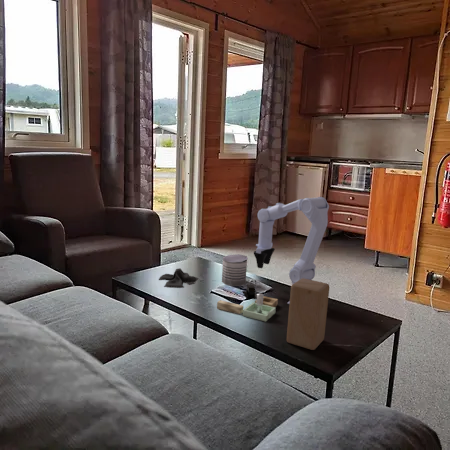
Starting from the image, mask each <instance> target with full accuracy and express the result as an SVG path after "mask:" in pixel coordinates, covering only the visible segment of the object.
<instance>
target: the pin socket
mask: <svg viewBox="0 0 450 450" xmlns="http://www.w3.org/2000/svg"><path fill="white" fill-rule="evenodd" d="M256 302H257V299H255V301H254V303H256ZM278 302H279V299H278V298H274V297H268V296H264V295H263V305H267V306H271V307H275V308H277V306H278Z"/></svg>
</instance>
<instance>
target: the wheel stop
mask: <svg viewBox="0 0 450 450" xmlns="http://www.w3.org/2000/svg"><path fill="white" fill-rule="evenodd" d="M216 309H218V310H221V311H226V312H229V313H233V314H238V315H241V314H243V310H244V305H241V304H237V303H233V302H229V301H225V300H221V299H219V300H218V301H217V302H216Z"/></svg>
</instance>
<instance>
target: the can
mask: <svg viewBox="0 0 450 450" xmlns="http://www.w3.org/2000/svg"><path fill="white" fill-rule="evenodd" d="M247 266H248V256H247V255H244V254H236V253H235V254H227V255H225V256H223V257H222V271H221V272H222V273H221V282H222V283H223V284H224V285H226V286H230V287H238V286H239V287H241V286H244V285H246V282H247V271H248V270H247Z"/></svg>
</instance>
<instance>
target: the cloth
mask: <svg viewBox="0 0 450 450" xmlns="http://www.w3.org/2000/svg"><path fill="white" fill-rule="evenodd" d="M198 280H199V278H198V277H196V276H194V275H193V276H192V275H190V274H189V273H188V272H184V271H183V270H182V269H181V268H176V269H175V270H174V272H173V274H170V273H165V274H162V275H160V277H159V278H158V281H165V282H166V283H165V285H164V286H163V287H164V288H177V289H178V288H179V289H181V288H182V289H183V288H185V286H184V285H183V283H185V284H187V285H188V286H190V285H195V284H196V281H198Z"/></svg>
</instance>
